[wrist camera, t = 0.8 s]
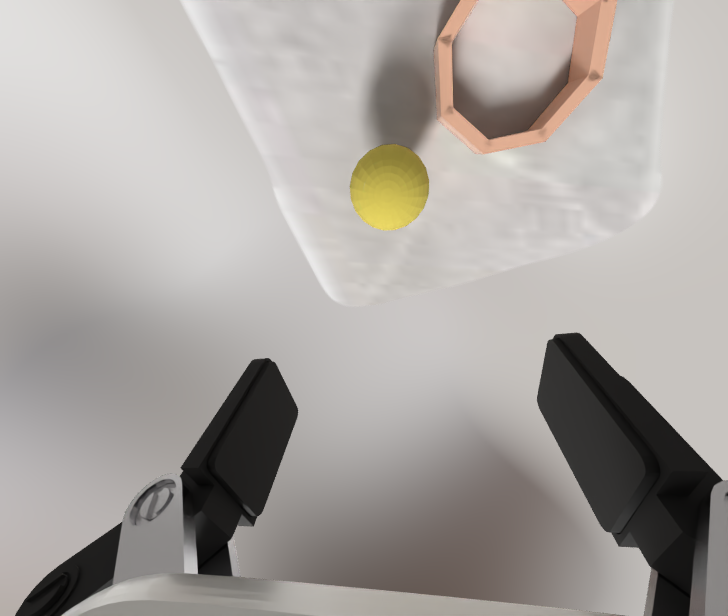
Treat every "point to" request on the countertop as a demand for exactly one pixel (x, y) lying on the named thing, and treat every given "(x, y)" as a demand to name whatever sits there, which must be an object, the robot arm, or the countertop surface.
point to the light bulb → (389, 187)
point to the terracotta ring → (590, 47)
